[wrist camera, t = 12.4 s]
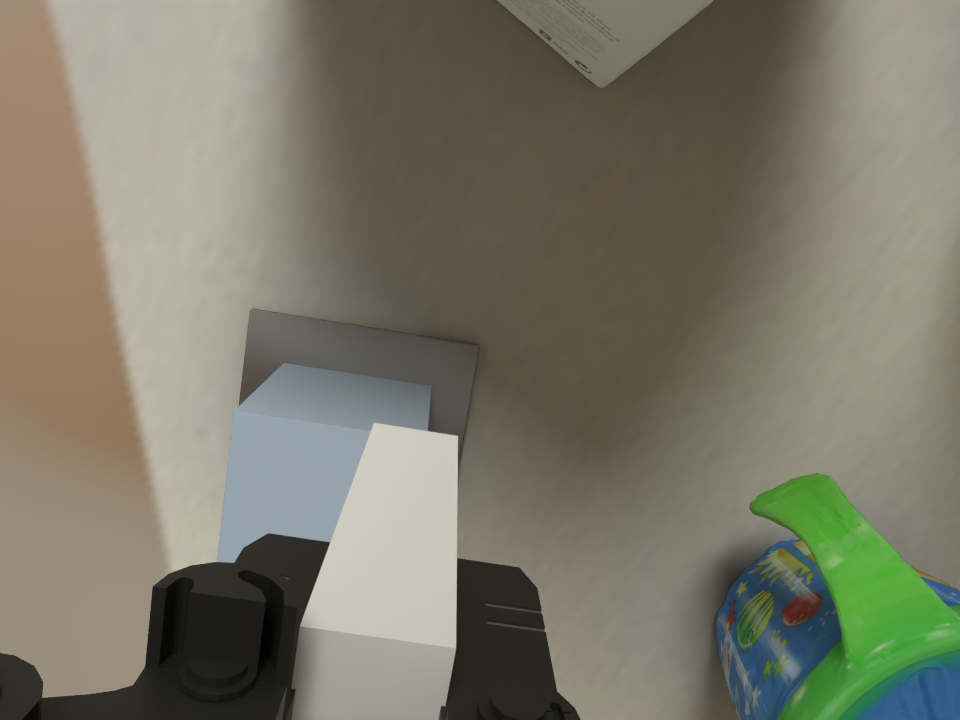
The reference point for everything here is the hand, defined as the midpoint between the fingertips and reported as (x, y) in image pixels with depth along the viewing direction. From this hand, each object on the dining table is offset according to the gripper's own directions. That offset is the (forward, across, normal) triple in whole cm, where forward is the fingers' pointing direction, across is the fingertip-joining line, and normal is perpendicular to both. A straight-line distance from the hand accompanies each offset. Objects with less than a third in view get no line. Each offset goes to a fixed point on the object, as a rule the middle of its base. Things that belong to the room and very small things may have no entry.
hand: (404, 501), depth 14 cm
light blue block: (+14, -2, -4) cm, 15 cm away
